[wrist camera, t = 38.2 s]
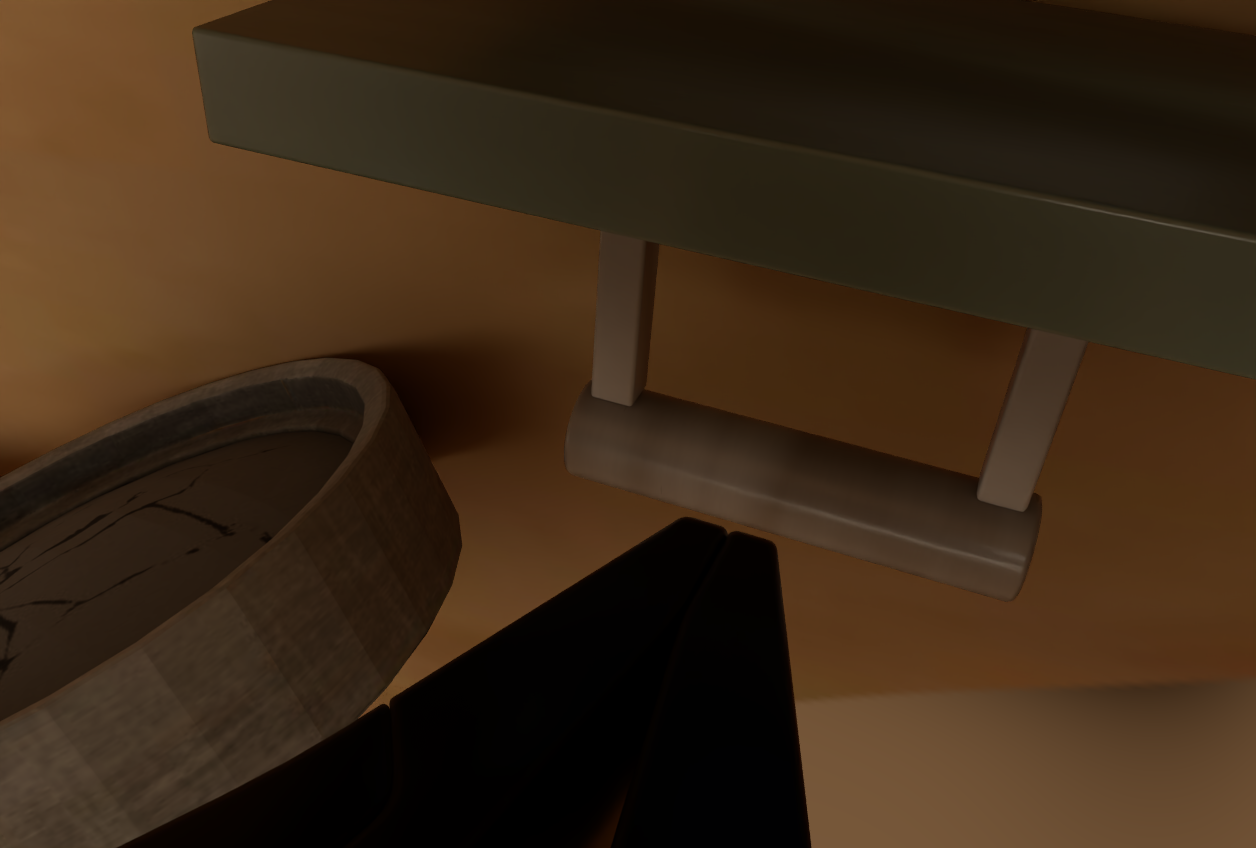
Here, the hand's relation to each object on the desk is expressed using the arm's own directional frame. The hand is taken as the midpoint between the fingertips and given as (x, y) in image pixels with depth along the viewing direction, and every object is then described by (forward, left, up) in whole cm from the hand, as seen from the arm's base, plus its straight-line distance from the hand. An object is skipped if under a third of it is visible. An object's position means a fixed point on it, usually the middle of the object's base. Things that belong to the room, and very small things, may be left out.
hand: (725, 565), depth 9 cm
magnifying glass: (-11, +17, -10) cm, 22 cm away
